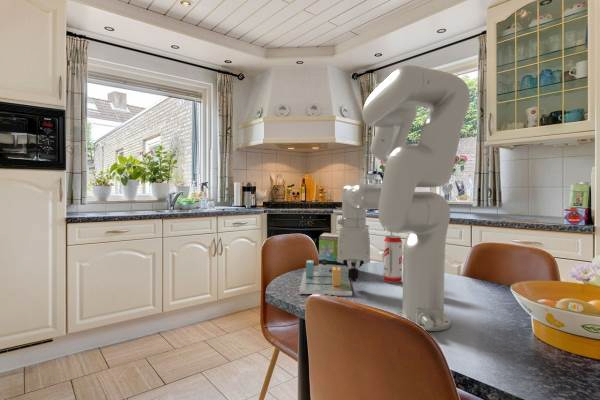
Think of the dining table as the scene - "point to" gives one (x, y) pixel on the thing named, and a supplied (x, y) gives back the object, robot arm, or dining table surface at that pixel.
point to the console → (325, 284)
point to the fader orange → (336, 276)
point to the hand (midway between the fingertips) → (353, 280)
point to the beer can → (392, 259)
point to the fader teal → (309, 268)
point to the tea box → (330, 253)
